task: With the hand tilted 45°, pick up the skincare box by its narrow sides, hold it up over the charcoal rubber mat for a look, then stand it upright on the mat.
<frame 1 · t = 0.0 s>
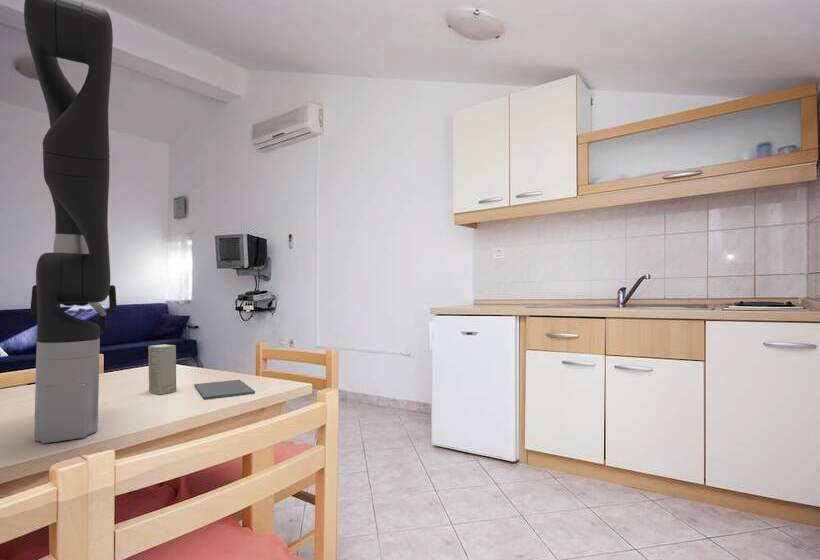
hand: (75, 334, 92), 17 cm above the table, tool pointing down, fingers open, 8 cm apart
skincare box: (161, 392, 115), on the table
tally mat: (223, 389, 118), on the table
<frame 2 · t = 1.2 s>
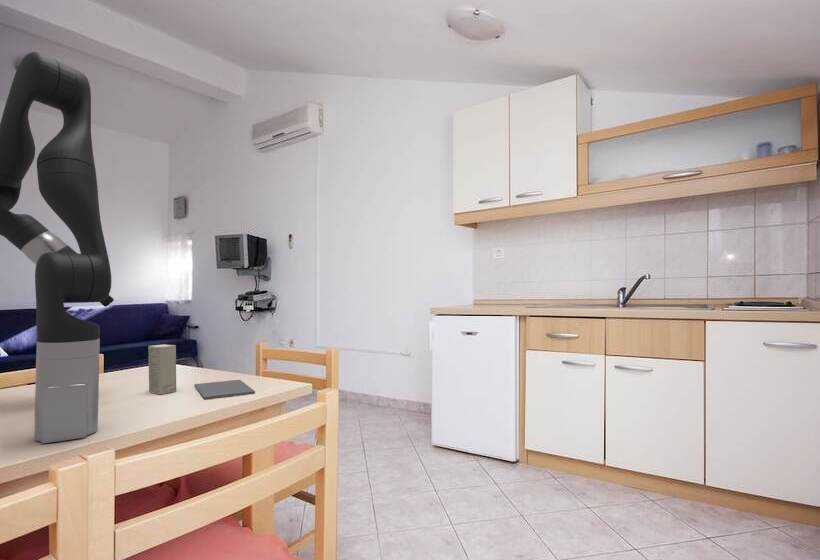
hand: (110, 303, 110), 23 cm above the table, tool tilted 45°, fingers open, 8 cm apart
nothing on the table moved.
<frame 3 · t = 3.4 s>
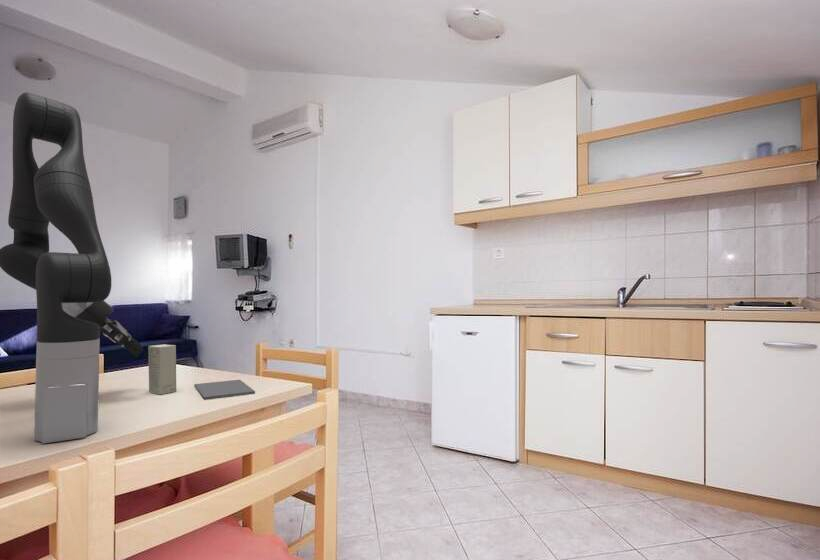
hand: (139, 351, 113), 11 cm above the table, tool tilted 45°, fingers open, 8 cm apart
nothing on the table moved.
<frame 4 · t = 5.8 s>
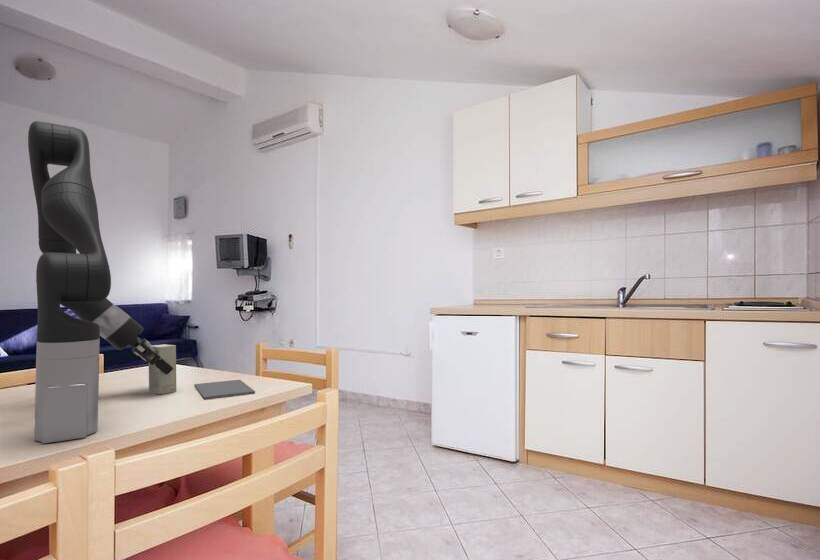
hand: (168, 369, 116), 6 cm above the table, tool tilted 45°, fingers closed on skincare box, 7 cm apart
skincare box: (162, 392, 115), on the table, touching gripper
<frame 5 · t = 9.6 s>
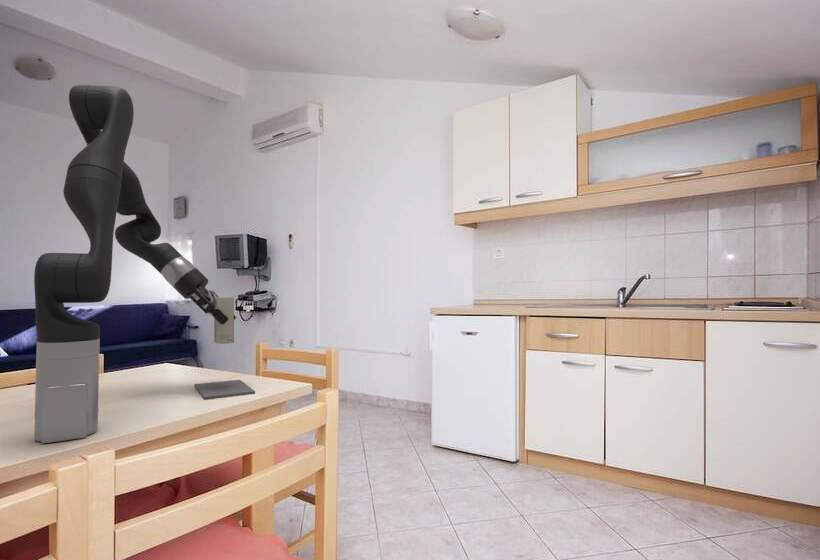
hand: (229, 321, 118), 18 cm above the table, tool tilted 45°, fingers closed on skincare box, 7 cm apart
skincare box: (223, 343, 118), point 12 cm above the table, touching gripper
when the fingers open (8 cm above the table, at t = 13.7 s): skincare box drops 1 cm, resting on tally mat.
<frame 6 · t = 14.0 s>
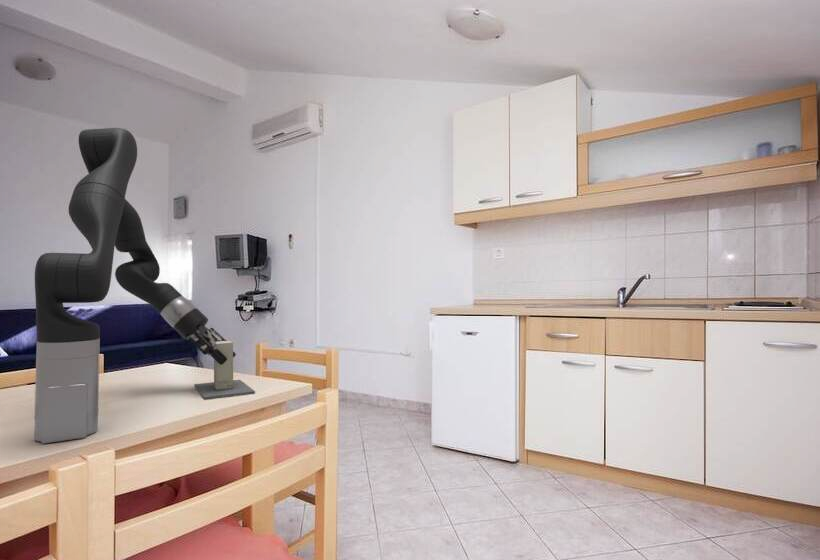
hand: (229, 359, 118), 8 cm above the table, tool tilted 45°, fingers open, 8 cm apart
skincare box: (223, 388, 118), resting on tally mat
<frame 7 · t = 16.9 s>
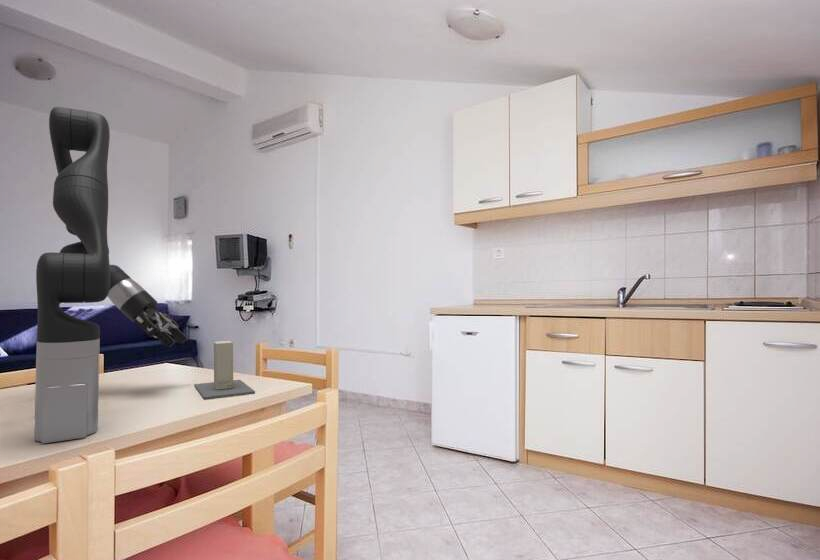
hand: (178, 343, 116), 13 cm above the table, tool tilted 45°, fingers open, 8 cm apart
nothing on the table moved.
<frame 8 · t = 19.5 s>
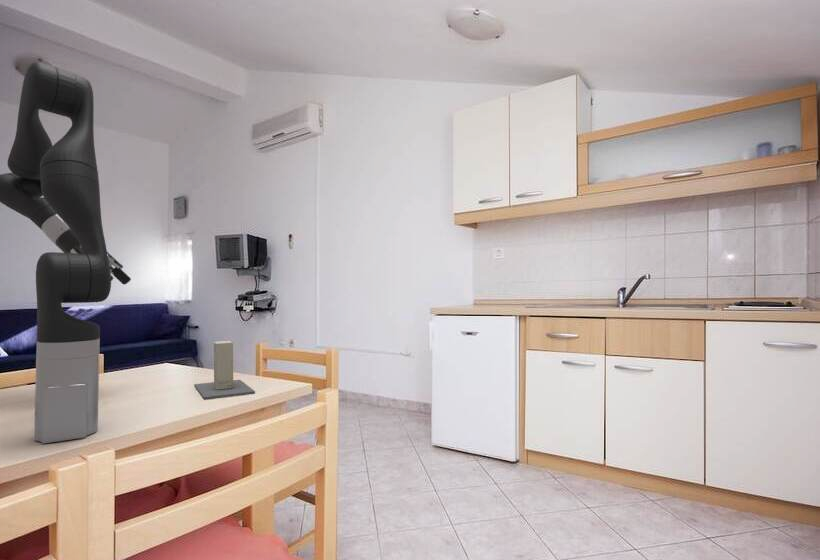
hand: (119, 281, 110), 29 cm above the table, tool tilted 45°, fingers open, 8 cm apart
nothing on the table moved.
at the end: skincare box inside the target area on the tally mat (0.3 cm from its centre), point 0.4 cm above the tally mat's base; skincare box tilted 0°; the gripper is holding nothing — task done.
